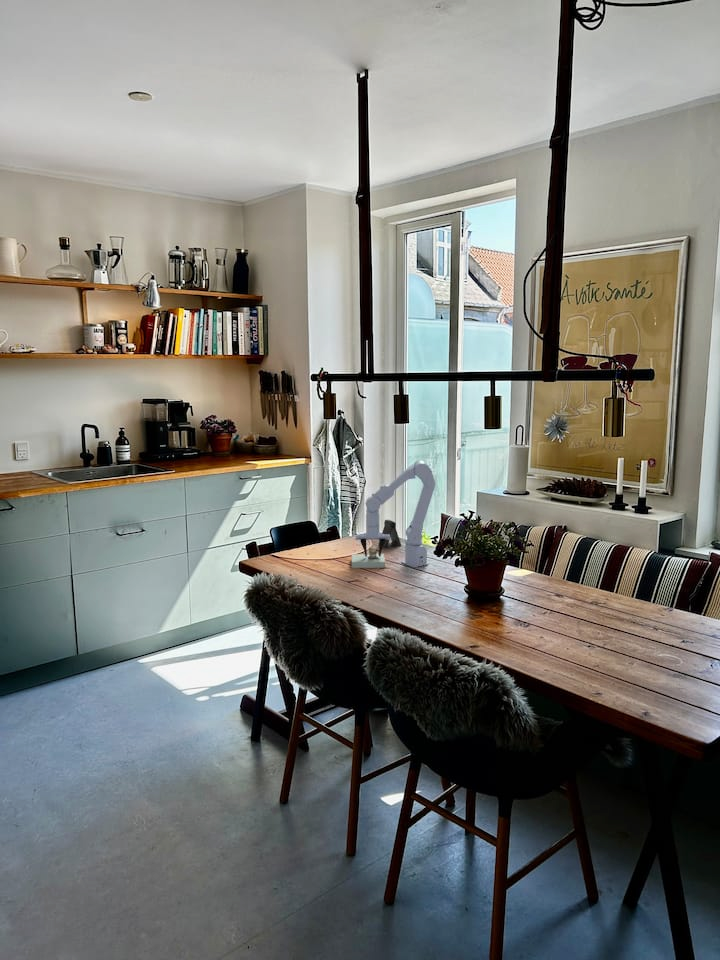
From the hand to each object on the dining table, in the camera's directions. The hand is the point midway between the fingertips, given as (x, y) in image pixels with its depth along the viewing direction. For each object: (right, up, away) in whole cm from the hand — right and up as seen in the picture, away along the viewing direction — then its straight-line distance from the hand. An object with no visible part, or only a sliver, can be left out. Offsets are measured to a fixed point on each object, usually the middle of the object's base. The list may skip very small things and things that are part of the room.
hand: (372, 555), depth 300 cm
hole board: (-2, -3, +1) cm, 4 cm away
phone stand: (+9, +1, +30) cm, 31 cm away
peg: (0, -3, +1) cm, 3 cm away
